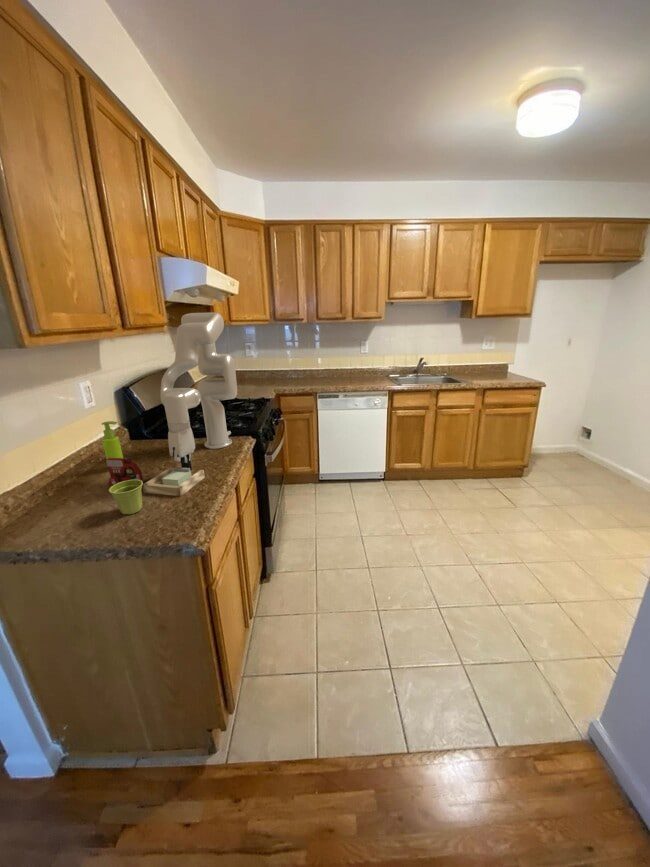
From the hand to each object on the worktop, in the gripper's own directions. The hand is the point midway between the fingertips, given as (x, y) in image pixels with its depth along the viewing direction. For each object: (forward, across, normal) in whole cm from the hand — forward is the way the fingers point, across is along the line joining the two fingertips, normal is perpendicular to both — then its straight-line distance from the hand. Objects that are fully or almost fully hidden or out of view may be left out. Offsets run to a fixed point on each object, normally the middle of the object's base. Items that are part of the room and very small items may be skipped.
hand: (187, 470), depth 137 cm
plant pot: (+2, +26, -3) cm, 27 cm away
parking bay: (+2, +8, 0) cm, 8 cm away
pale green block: (+2, +6, 0) cm, 6 cm away
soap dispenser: (+2, -2, -34) cm, 34 cm away
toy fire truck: (+2, +10, -19) cm, 22 cm away
